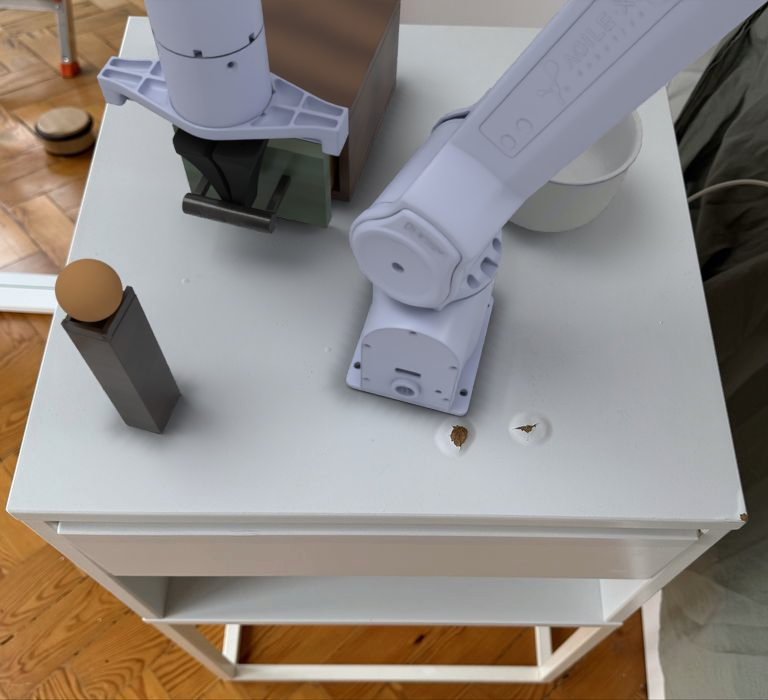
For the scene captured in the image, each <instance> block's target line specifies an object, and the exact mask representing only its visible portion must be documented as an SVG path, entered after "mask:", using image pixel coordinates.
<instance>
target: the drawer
mask: <svg viewBox="0 0 768 700" xmlns="http://www.w3.org/2000/svg"><path fill="white" fill-rule="evenodd" d="M171 125H172V126H171V127H172V129H173V133H174V134H175V133H176V131H177V130H178V128H179V127H178V126H176V125H174V124H172V123H171ZM180 158H181V161H182V165H183V168H184V169H183V170H184V173H185V176H186V179H187V184H188V186H189V189H190V192H187V193H185V195H184V196H183V198H182V202H181V211H182V213H184V214H185V215H189V216H193V217H197V218H201V219H206V220H210V221H214V222H218V223H221V224H222V223H223V224H226V225H231V226H234V227H238V228H242V229H248V230H251V231H256V232H259V233H263V234H268V235H272V234H273V233H274V232H275V230H276V226H277V221H278V218H283V219H287V220H291V221H295V222H300V223H304V224H308V225H311V226H316V227H321V228H325V229H327V228H328V227H329V224H330V223H331V219H332V217H333V213H332V210H333V209H332V198H331V189H332V187H333V185H334V182H335V180H336V178H337V175H338V173H339V156H335V155H331V154H326V153H324V152H323V151H322V144H319V143H315V142H311V141H306V140H302V139H297V138H274V139H269V142H268V144H267V147H266V150H265V153H264V156H263V159H262V163H261V168H260V172H259V179H258V190H257V197H256V199H255V201H254V203H253V205H252V207H248V206H244V205H240V204H236V203H232V202H227V201H223V200H221V198H220V196H219V195H218V193H217V192H216V190H215V189H214V188H213V186H212V185H211V184H210V182H209V181H208V180H207V179H206V177H205V176H204V175H203V174H202V173H201V172H200V171H199V170H198V169H197V168H196V167H195V166H194V165H192V164H191V163H190V162H189V161H187V160H186V159H185V158H183V157H182V156H180Z"/></svg>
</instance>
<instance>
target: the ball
mask: <svg viewBox="0 0 768 700" xmlns="http://www.w3.org/2000/svg"><path fill="white" fill-rule="evenodd" d="M54 283H55V284H54V295H55V299H56V301H57V304H58V305H59V307H60V308H61V310H62V311H63V312H64V313H66V315H67V314H68V315H69V316H71V317H73V318H75V319H77V320H80V321H85V322H94V321H100V320H103V319H105V318H107V317H109V316H110V315H111V314H113V313H114V312H115V310H116V309H117V308H118V306H119V305H120V303H121V300H122V295H123V291H124V289H123V287H124V286H123V283H122V280H121V277H120V276H119V273H118V272H117V271H116V270H115V269H114V268H113V267H112V266H110V264H108V263H106V262H105V261H102V260H99V259H96V258H79V259H75V260H74V261H72V262H70V263H68V264H67V265H66V266H64V267H63V268H62V270H61V271H60V272H59V273H58V275H57V277H56V279H55V282H54Z"/></svg>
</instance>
